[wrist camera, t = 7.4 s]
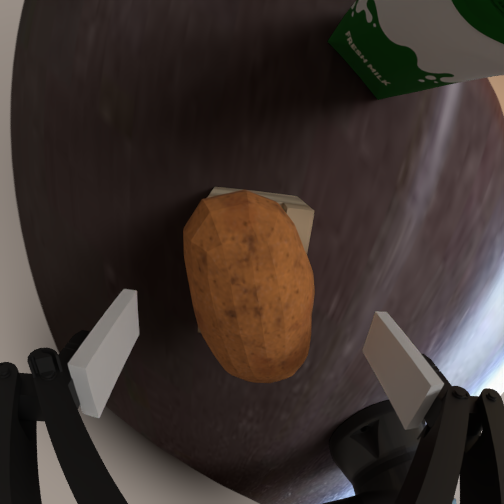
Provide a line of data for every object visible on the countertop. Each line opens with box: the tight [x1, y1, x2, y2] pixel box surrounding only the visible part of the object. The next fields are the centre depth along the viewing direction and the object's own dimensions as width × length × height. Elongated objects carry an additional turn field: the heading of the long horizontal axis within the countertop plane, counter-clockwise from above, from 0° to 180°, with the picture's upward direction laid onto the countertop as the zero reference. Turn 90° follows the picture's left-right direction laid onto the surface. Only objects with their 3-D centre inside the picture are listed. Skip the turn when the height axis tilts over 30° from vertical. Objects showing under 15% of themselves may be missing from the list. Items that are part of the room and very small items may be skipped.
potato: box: [183, 190, 315, 383], centre depth 18 cm, size 7×13×7 cm, turn 8°
